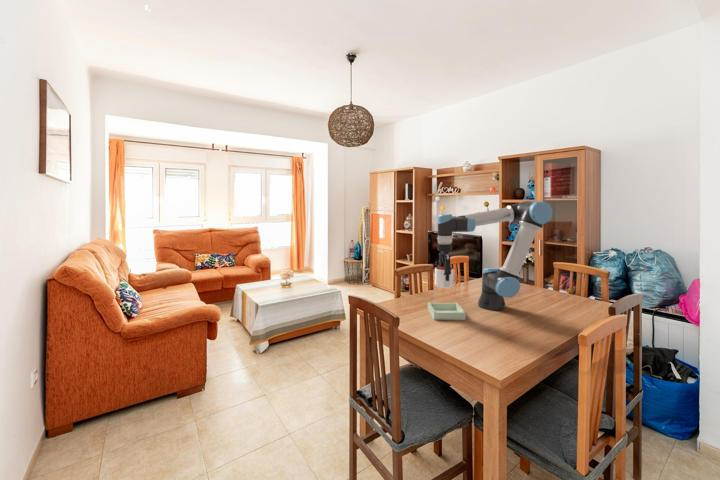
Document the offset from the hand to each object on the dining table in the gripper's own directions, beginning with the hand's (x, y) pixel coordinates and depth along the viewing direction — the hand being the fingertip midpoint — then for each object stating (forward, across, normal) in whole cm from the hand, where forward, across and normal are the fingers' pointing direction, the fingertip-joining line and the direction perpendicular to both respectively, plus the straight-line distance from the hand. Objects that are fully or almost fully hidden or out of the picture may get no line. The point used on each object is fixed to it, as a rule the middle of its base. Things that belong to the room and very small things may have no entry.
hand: (444, 284), depth 177 cm
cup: (+2, 0, 0) cm, 2 cm away
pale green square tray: (+17, 0, +1) cm, 17 cm away
